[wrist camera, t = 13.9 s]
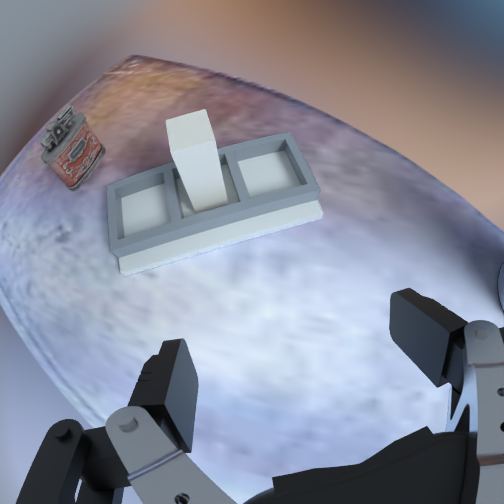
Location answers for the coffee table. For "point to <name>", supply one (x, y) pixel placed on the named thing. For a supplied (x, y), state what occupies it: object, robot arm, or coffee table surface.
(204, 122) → the clay bar
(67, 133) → the lighter
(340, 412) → the coffee table surface
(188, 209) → the rack
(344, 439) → the coffee table surface
